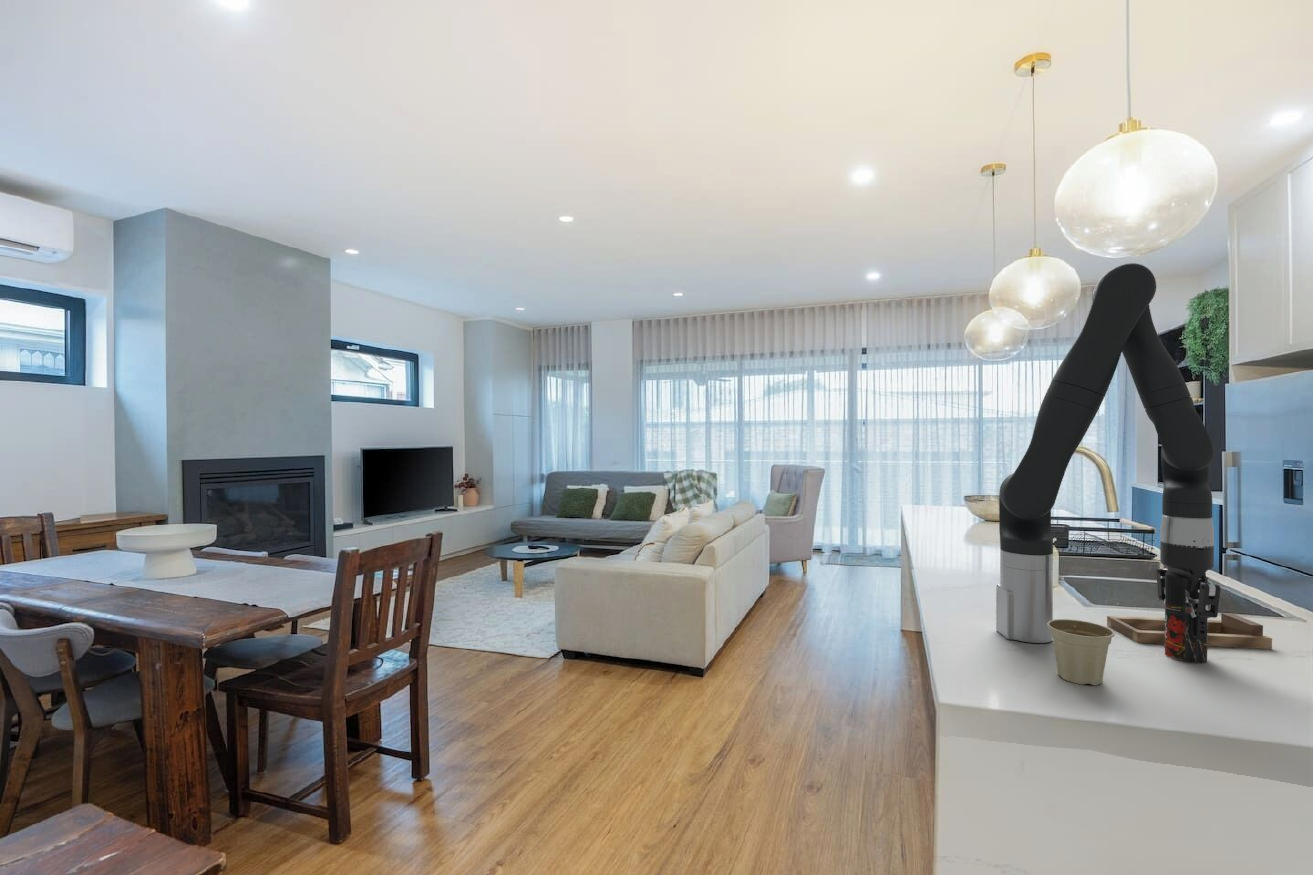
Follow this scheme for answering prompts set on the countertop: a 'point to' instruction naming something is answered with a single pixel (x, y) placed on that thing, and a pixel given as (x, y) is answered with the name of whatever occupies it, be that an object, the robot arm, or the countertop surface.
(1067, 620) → the flower pot
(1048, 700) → the countertop surface
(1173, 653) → the deodorant
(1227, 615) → the wooden frame
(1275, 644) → the countertop surface
